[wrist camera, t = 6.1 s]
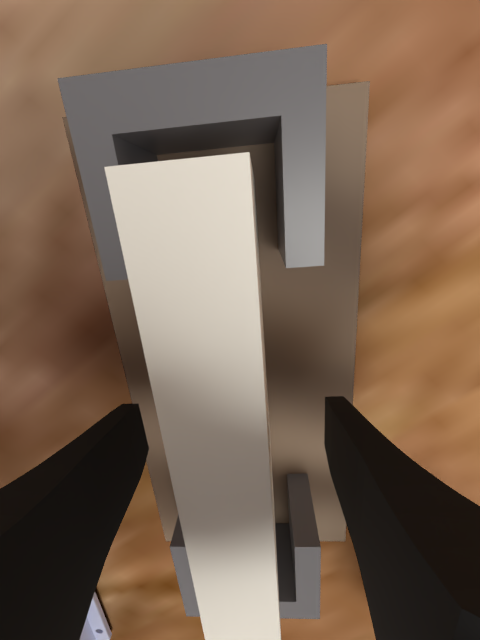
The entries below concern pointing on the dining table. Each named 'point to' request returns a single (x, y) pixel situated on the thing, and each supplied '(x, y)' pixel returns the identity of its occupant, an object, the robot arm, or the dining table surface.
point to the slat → (207, 373)
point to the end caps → (213, 133)
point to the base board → (281, 318)
